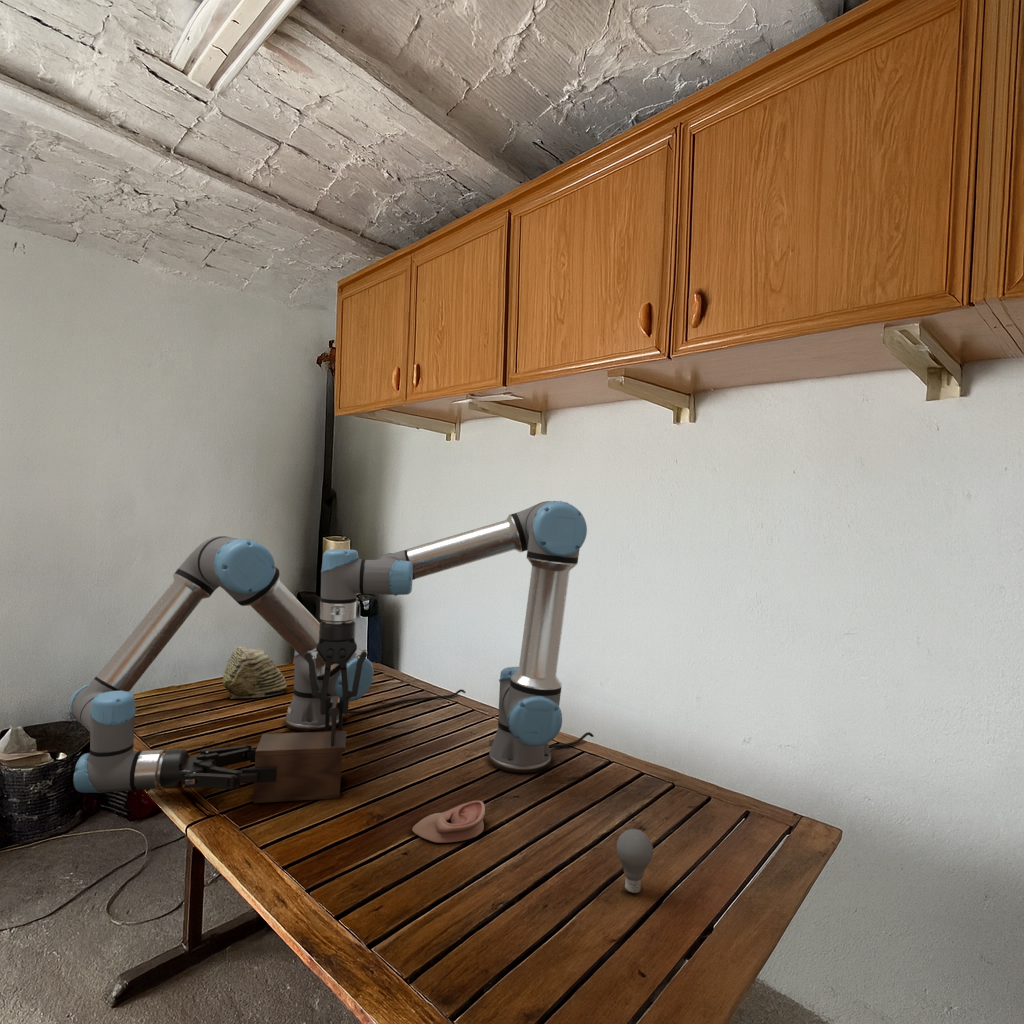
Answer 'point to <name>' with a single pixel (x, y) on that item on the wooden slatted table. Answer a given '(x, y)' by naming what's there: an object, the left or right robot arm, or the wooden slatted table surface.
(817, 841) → the wooden slatted table surface
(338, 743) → the lid
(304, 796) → the chest
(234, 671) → the fossil
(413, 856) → the wooden slatted table surface
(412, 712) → the wooden slatted table surface
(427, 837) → the anatomical model
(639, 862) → the light bulb
